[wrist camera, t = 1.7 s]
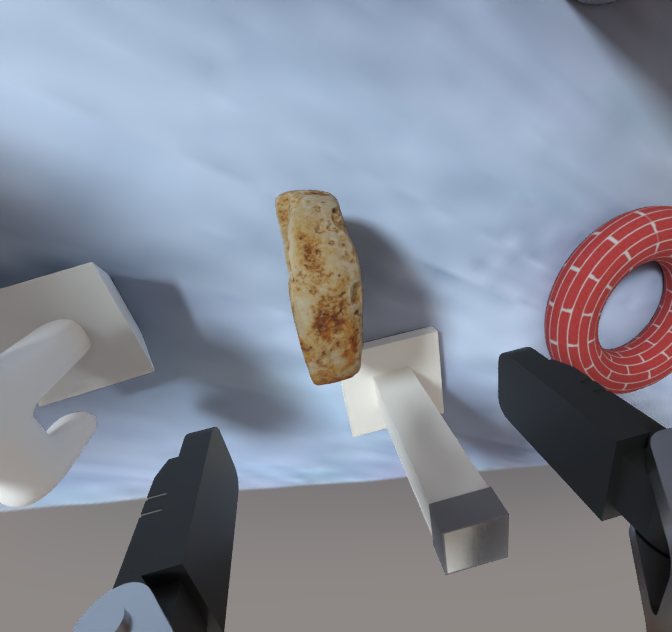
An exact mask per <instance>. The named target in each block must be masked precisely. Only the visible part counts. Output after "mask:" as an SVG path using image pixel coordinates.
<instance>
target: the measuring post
mask: <svg viewBox="0 0 672 632" xmlns="http://www.w3.org/2000/svg"><path fill="white" fill-rule="evenodd" d="M363 344H364V346H363V348H362V355H361V368H360V370H359V372H358V373H357V374H355V375H354V376H353V377H352V378H349V379H346V380H343V381H340V382H341V386H342V391H343V395H344V400H345V404H346V409H347V413H348V418H349V422H350V427H351V431H352V434H353V437H355V436H359V435H363V434H367V433H370V432H374V431H378V430H382V429H386V428H387V429H388V432H389V434H390V436H391V439H392V441H393V444H394V446H395V448H396V451H397V453H398V456H399V458H400V460H401V463H402V465H403V468H404V470H405V472H406V475H407V477H408V479H409V482H410V484H411V487H412V489H413V492H414V494H415V496H416V499H417V501H418V504H419V506H420V508H421V511H422V513H423V515H424V518H425V520H426V523H427V525H428V528H429V530H430V532H431V535H432V537H433V545H434V548H435V550H436V553H437V555H438V557H439V560H440V562H441V564H442V567H443V569H444V572H445V574H446V575H448V574H451V573H455V572H458V571H461V570H465V569H468V568H472V567H476V566H479V565H482V564H486V563H489V562H493V561H496V560H499V559H503V558H506V557H508V530H509V513H508V512H507V510H506V509H505V507H504V506H503V504H502V503H501V501H500V500H499V499H498V497H497V495H496V494H495V492H494V491H493V489H492V488H491V487H488V486H487V485H486V483H485V482H484V480H483V479H482V478H481V476H480V474H479V473H478V471H477V470H476V468H475V467H474V465H473V463H472V462H471V460H470V459H469V457H468V456H467V454H466V453H465V451H464V450H463V448H462V447H461V445H460V443H459V442H458V440H457V439H456V437H455V436H454V434H453V433H452V431H451V430H450V428H449V427H448V425H447V424H446V422H445V420H444V419H443V417H442V416H441V414H443V413H444V407H443V394H442V381H441V368H440V355H439V342H438V331H437V330H436V329H435V328H434V327H433V326H430V327H426V328H422V329H418V330H414V331H410V332H406V333H402V334H398V335H394V336H389V337H385V338H381V339H377V340H373V341H369V342H365V343H363Z"/></svg>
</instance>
